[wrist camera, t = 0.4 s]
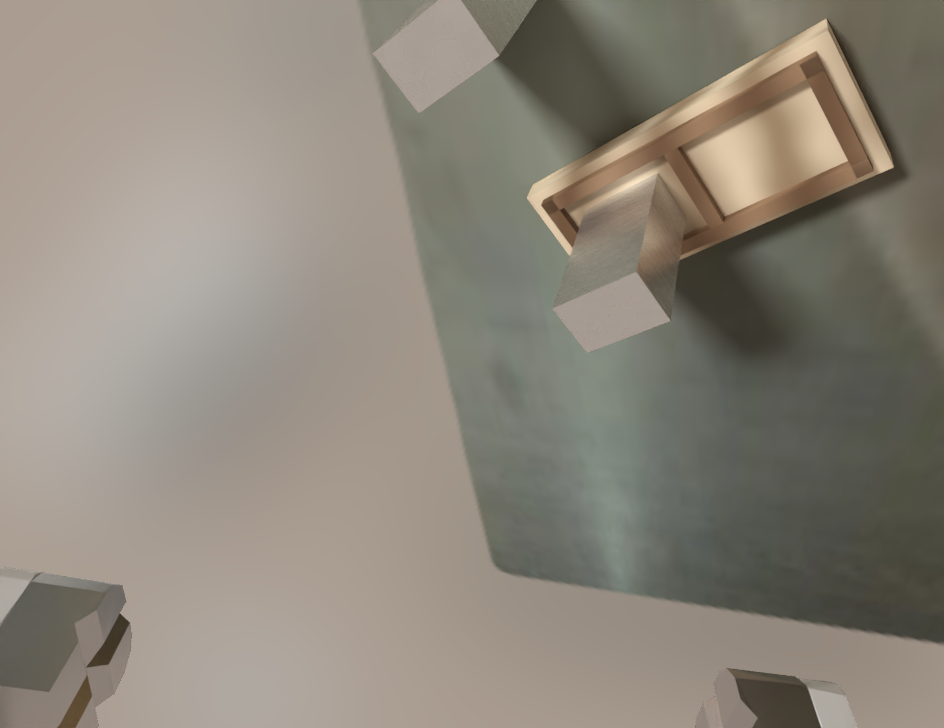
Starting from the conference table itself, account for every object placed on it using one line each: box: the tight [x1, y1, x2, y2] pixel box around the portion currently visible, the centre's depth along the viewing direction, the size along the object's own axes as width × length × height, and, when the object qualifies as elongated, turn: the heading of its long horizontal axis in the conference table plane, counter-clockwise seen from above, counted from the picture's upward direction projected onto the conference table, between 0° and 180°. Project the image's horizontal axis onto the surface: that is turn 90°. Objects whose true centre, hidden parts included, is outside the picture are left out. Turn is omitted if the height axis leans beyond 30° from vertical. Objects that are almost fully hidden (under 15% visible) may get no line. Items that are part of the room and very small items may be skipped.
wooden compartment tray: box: [527, 19, 894, 260], centre depth 53 cm, size 22×10×3 cm, turn 128°
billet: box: [552, 173, 686, 353], centre depth 51 cm, size 6×4×12 cm, turn 128°
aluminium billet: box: [373, 0, 537, 113], centre depth 45 cm, size 6×4×12 cm, turn 128°
